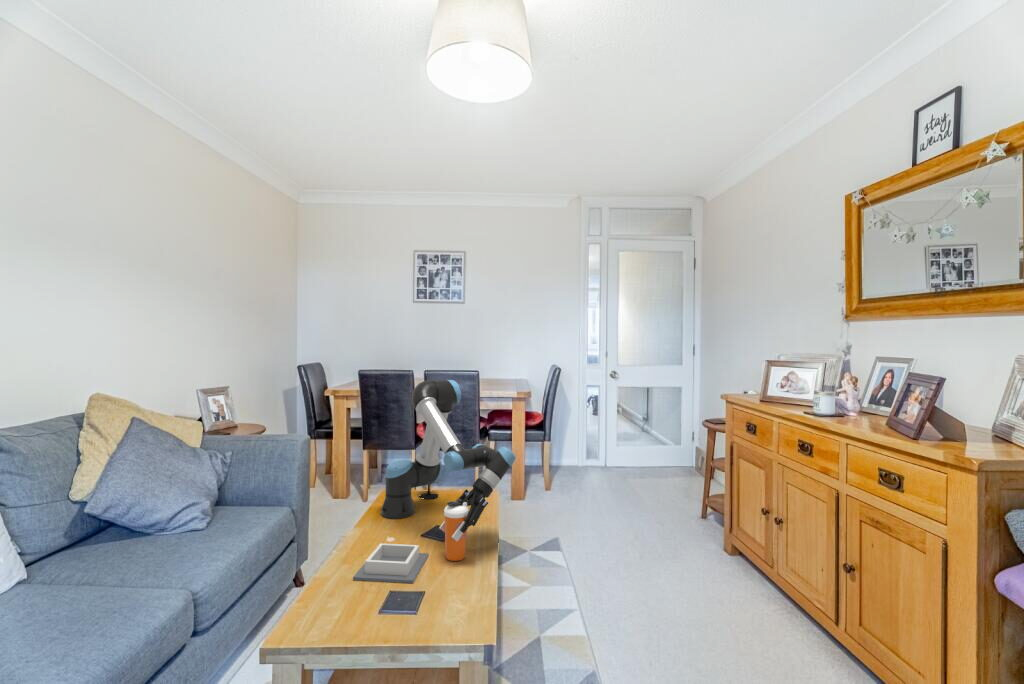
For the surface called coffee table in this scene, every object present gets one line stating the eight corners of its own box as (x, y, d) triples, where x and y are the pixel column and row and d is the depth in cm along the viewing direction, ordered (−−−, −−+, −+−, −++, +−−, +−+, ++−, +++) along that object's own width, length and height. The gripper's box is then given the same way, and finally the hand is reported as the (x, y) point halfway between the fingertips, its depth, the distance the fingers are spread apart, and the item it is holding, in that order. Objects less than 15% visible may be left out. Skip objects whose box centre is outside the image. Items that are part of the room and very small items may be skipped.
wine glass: (416, 494, 240) (417, 456, 240) (436, 492, 244) (436, 454, 244) (420, 501, 230) (421, 460, 231) (441, 498, 235) (441, 459, 235)
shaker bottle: (438, 556, 168) (439, 501, 169) (456, 549, 175) (457, 496, 175) (453, 564, 162) (455, 507, 163) (472, 556, 169) (473, 502, 169)
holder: (375, 553, 171) (375, 539, 171) (428, 556, 169) (428, 542, 169) (353, 580, 151) (353, 564, 151) (413, 583, 149) (413, 567, 149)
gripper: (507, 497, 169) (469, 551, 160) (476, 482, 187) (440, 530, 177) (496, 484, 166) (456, 539, 157) (465, 471, 184) (428, 519, 174)
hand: (448, 534), depth 167 cm, fingers closed on shaker bottle, 9 cm apart
